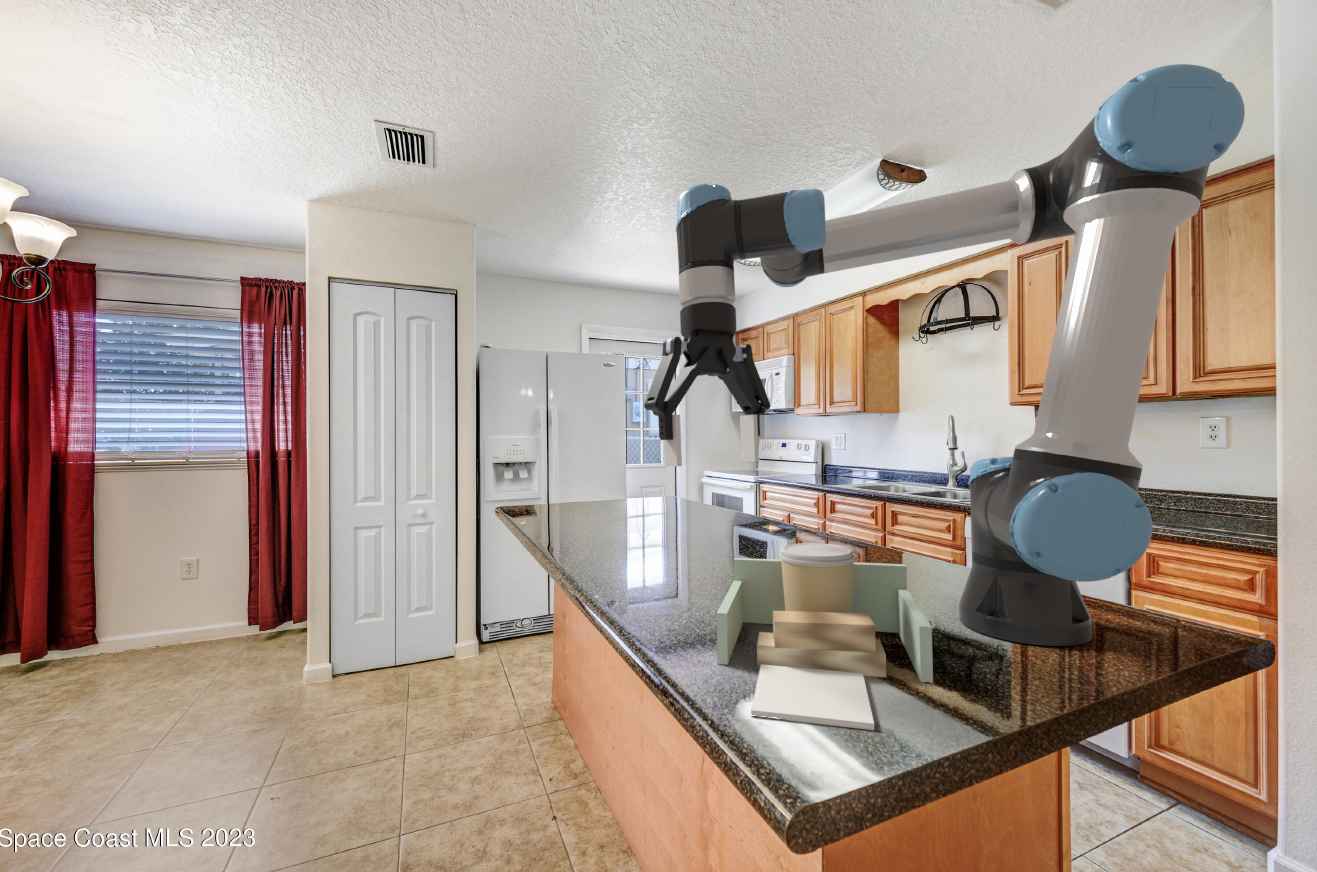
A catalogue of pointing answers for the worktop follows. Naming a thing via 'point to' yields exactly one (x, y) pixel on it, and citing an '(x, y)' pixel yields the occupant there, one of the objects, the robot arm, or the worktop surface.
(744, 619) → the screen
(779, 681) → the white square tile
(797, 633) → the oak offcut
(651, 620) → the worktop surface
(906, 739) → the worktop surface
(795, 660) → the birch offcut
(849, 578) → the coffee cup
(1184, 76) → the robot arm
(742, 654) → the worktop surface
